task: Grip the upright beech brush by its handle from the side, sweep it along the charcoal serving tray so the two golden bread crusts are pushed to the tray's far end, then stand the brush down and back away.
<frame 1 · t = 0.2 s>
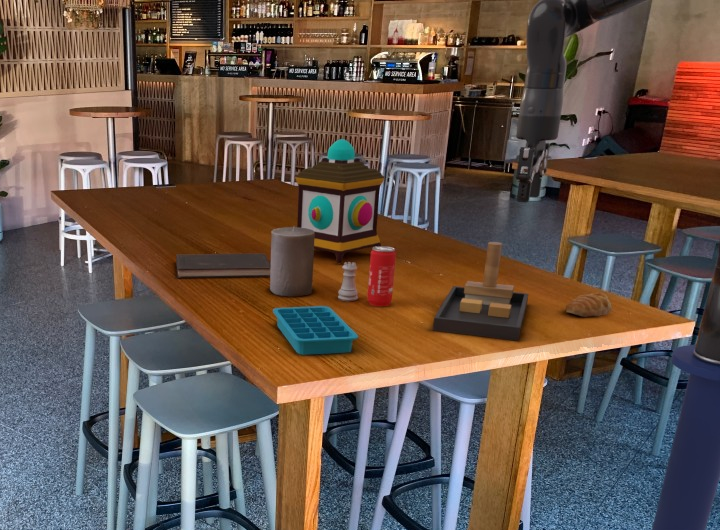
hand: (528, 199, 157), 23 cm above the table, tool pointing down, fingers open, 8 cm apart
beverage can: (379, 304, 170), on the table
pastry: (587, 313, 164), on the table
rook chess piece: (347, 299, 174), on the table
tray: (482, 317, 161), on the table
crust a: (470, 310, 164), point 1 cm above the table, touching tray
hardcover book: (222, 270, 199), on the table
pillar candle: (290, 292, 180), on the table
ice cube tray: (312, 338, 150), on the table
crust b: (499, 314, 161), point 1 cm above the table, touching tray
decorative lantern: (335, 255, 214), on the table
brush: (487, 302, 169), point 1 cm above the table, touching tray
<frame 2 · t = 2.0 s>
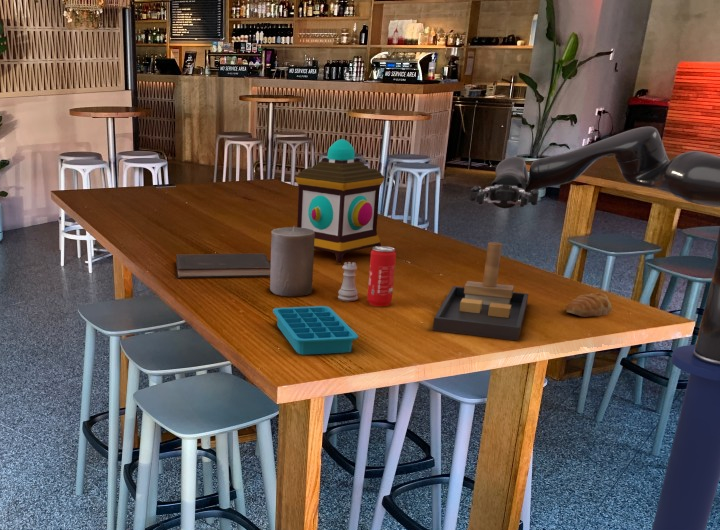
hand: (501, 200, 171), 21 cm above the table, tool horizontal, fingers open, 8 cm apart
nothing on the table moved.
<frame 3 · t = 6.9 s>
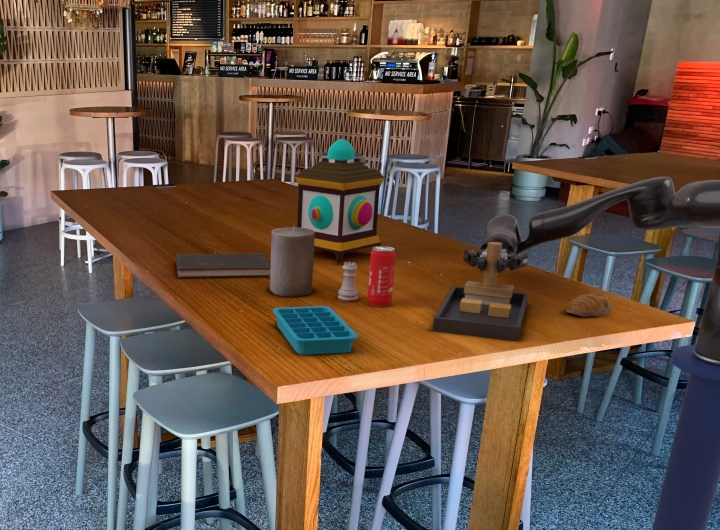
hand: (490, 267, 163), 9 cm above the table, tool horizontal, fingers closed on brush, 3 cm apart
brush: (487, 302, 169), point 1 cm above the table, touching gripper, tray
everything else where it was.
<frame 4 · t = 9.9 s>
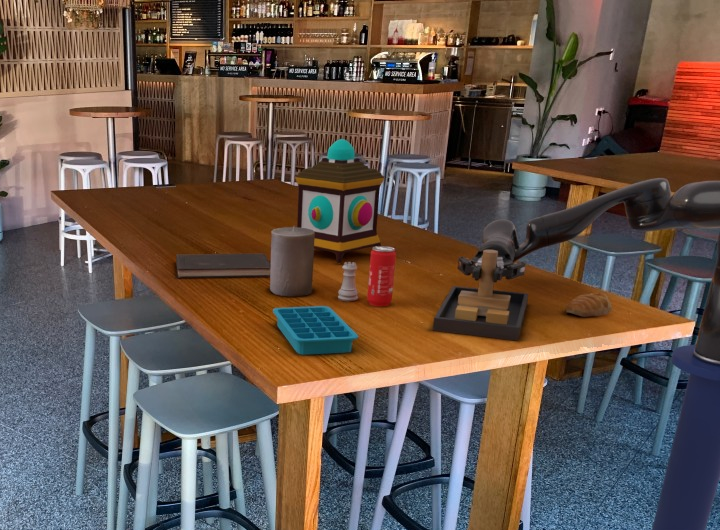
hand: (486, 276, 155), 9 cm above the table, tool horizontal, fingers closed on brush, 3 cm apart
crust a: (465, 318, 159), point 1 cm above the table, touching brush, tray
crust b: (496, 321, 156), point 1 cm above the table, touching tray
brush: (482, 313, 160), point 1 cm above the table, touching crust a, gripper
everything else where it was.
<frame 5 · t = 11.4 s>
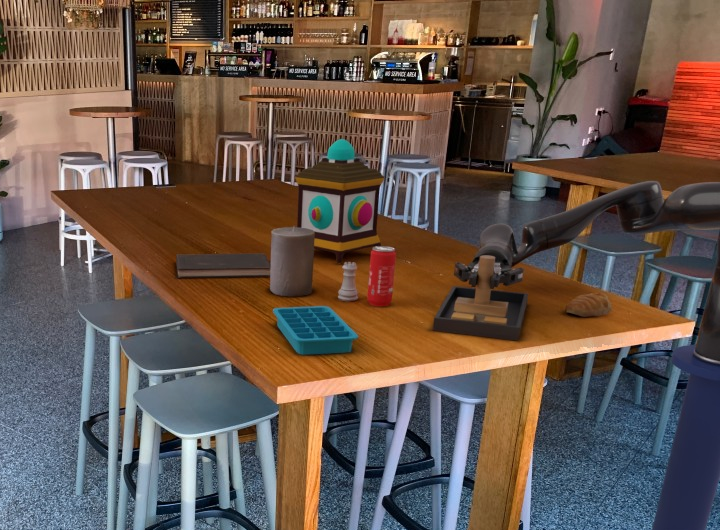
hand: (482, 282, 150), 9 cm above the table, tool horizontal, fingers closed on brush, 3 cm apart
crust a: (461, 325, 154), point 1 cm above the table, touching brush, tray
crust b: (494, 329, 152), point 1 cm above the table, touching brush, tray
brush: (479, 320, 156), point 1 cm above the table, touching crust a, crust b, gripper
everything else where it was.
when the fingers open (9 cm above the table, at t = 12.2 s): brush stays where it is, resting on tray.
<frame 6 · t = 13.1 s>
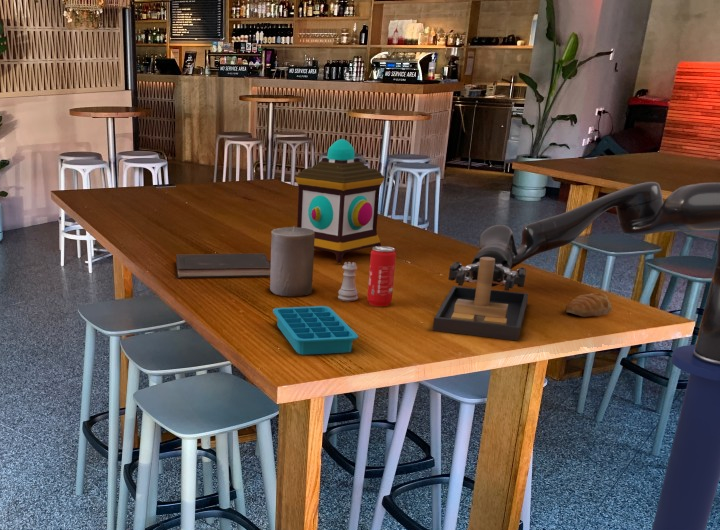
hand: (483, 282, 151), 9 cm above the table, tool horizontal, fingers open, 8 cm apart
crust a: (461, 325, 154), point 1 cm above the table, touching tray
crust b: (494, 329, 152), point 1 cm above the table, touching tray
brush: (479, 322, 156), point 1 cm above the table, touching tray
everything else where it was.
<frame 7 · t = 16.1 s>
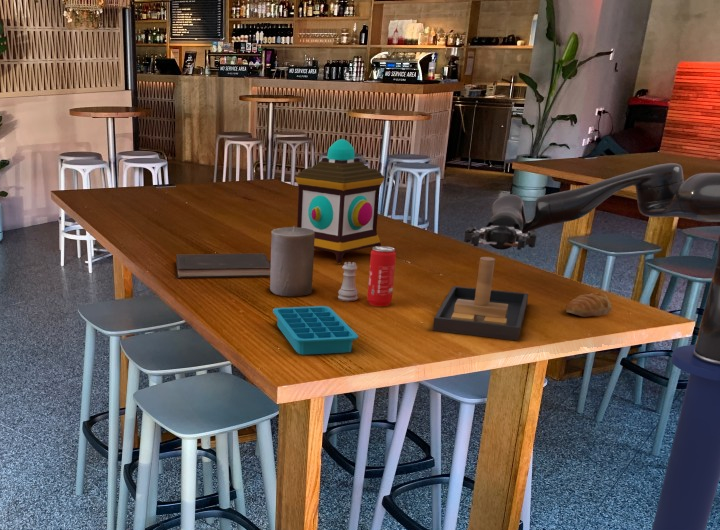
hand: (497, 242, 162), 14 cm above the table, tool horizontal, fingers open, 8 cm apart
nothing on the table moved.
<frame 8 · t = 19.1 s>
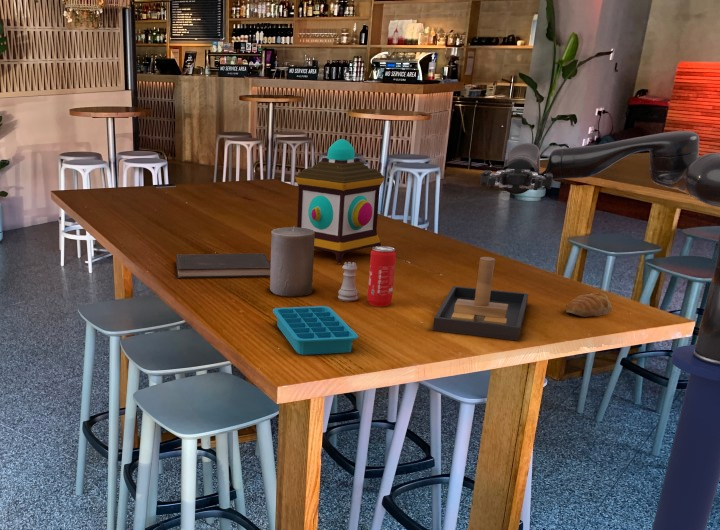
hand: (513, 183, 163), 25 cm above the table, tool horizontal, fingers open, 8 cm apart
nothing on the table moved.
at the end: crust a inside the target area (2.9 cm from its centre), point 0.6 cm above the table; crust b inside the target area (3.1 cm from its centre), point 0.6 cm above the table; brush tilted 0° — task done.
